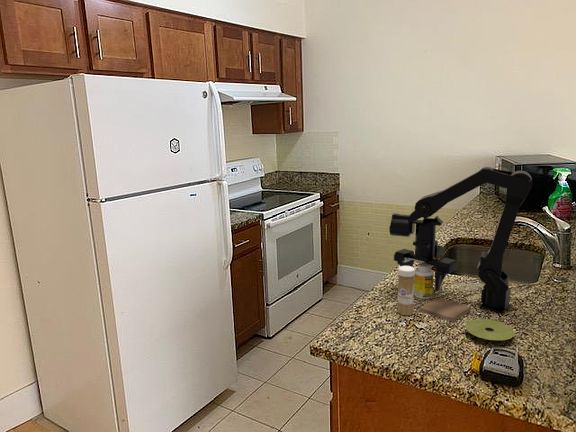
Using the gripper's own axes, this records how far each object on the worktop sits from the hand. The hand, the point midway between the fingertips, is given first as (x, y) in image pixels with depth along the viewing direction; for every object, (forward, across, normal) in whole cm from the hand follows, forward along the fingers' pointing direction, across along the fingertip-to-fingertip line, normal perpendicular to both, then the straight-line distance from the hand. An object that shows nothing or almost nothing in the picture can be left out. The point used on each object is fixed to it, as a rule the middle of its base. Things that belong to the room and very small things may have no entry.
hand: (423, 286), depth 133 cm
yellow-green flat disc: (+3, -25, +11) cm, 27 cm away
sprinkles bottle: (+3, -3, +14) cm, 14 cm away
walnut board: (+3, -10, +5) cm, 12 cm away
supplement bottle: (+3, 0, 0) cm, 3 cm away
